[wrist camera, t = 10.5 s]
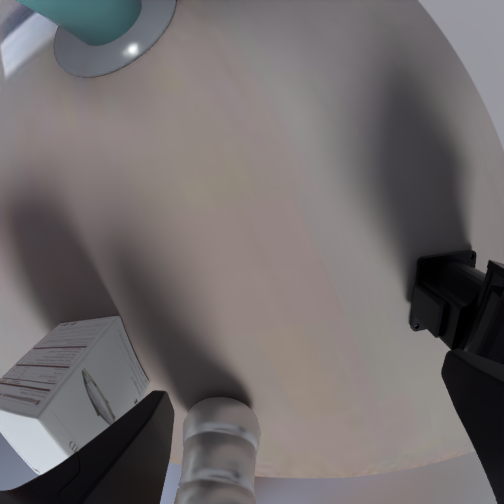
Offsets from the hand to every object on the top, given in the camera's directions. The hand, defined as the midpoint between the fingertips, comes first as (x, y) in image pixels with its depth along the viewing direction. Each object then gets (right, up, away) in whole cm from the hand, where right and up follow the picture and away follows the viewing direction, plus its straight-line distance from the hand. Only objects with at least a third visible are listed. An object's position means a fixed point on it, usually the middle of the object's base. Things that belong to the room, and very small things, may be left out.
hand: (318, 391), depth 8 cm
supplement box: (-15, -5, +15) cm, 22 cm away
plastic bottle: (-4, -11, +17) cm, 20 cm away
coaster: (-13, +22, +7) cm, 27 cm away
